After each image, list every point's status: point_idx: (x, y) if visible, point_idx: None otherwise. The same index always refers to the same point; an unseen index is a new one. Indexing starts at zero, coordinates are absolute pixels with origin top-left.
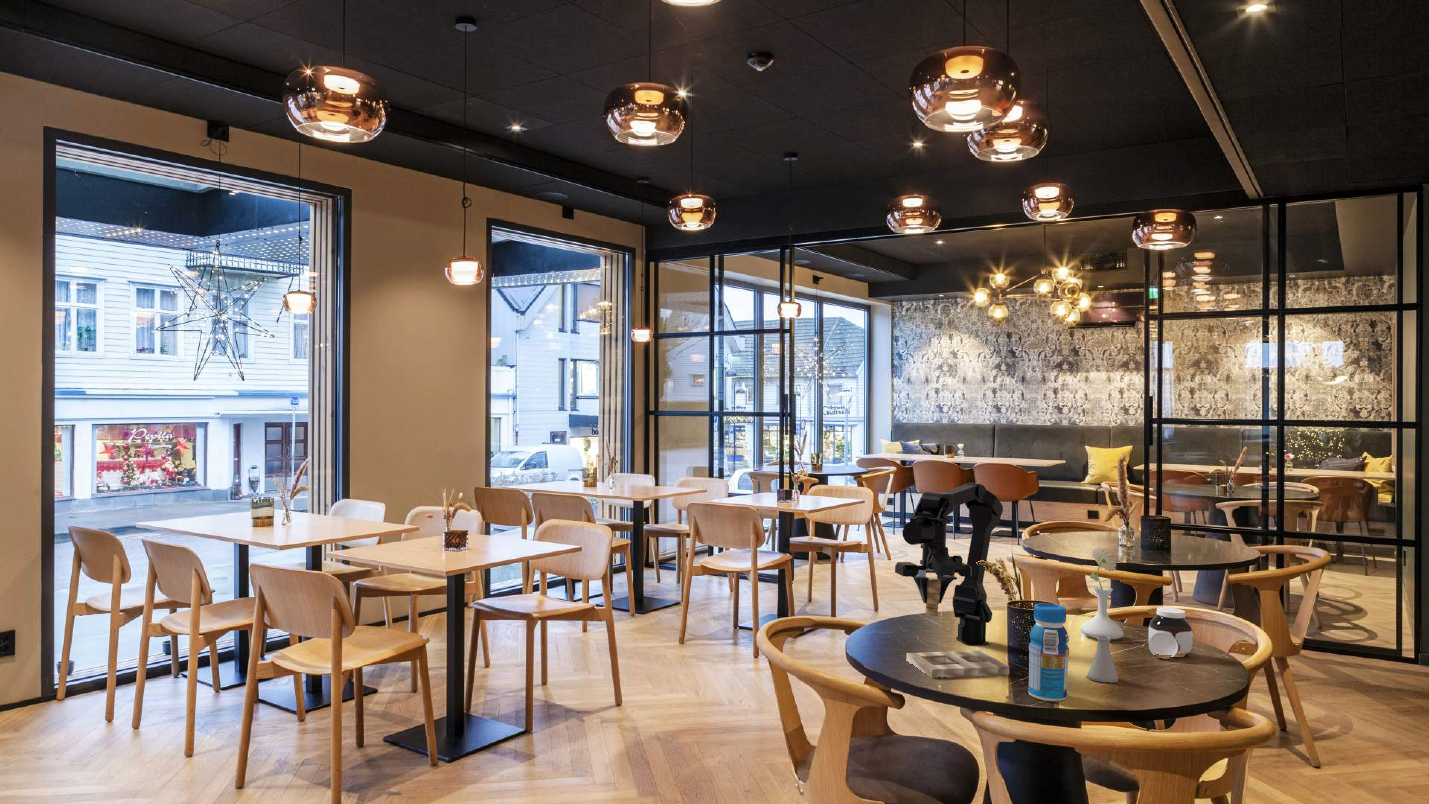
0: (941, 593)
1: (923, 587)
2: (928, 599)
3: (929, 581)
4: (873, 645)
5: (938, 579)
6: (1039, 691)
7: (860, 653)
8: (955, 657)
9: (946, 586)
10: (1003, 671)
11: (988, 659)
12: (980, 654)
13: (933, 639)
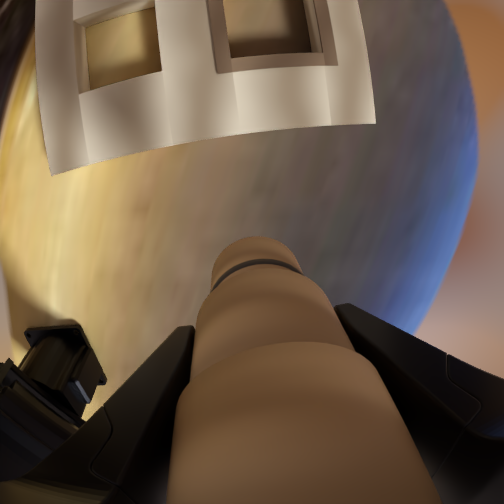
0: (167, 382)
1: (478, 379)
2: (333, 315)
3: (434, 495)
4: (390, 311)
5: None
6: None
7: (457, 224)
8: (184, 53)
9: (76, 451)
10: None
11: (61, 48)
12: (64, 114)
13: None
